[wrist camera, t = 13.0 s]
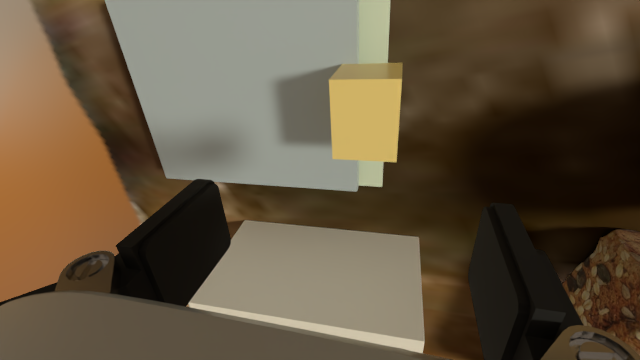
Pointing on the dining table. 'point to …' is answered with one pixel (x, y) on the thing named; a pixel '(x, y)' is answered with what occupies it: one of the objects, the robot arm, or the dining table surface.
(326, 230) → the open box
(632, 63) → the dining table surface
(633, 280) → the bread
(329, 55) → the lid
